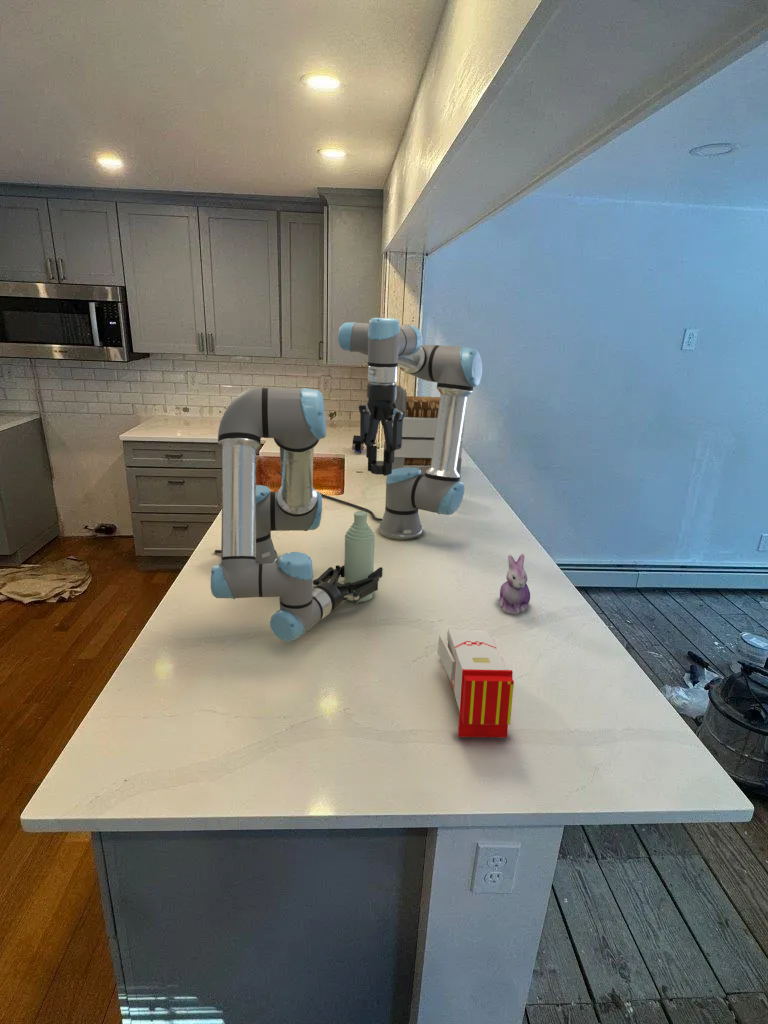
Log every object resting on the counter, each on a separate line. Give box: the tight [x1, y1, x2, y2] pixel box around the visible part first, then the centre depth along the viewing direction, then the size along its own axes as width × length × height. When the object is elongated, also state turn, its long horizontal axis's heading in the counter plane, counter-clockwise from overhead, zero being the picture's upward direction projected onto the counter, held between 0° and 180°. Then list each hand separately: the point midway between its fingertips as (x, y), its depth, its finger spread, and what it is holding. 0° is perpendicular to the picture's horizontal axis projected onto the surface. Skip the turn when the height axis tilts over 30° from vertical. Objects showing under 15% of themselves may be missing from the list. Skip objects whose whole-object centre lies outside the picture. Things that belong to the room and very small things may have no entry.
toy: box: [437, 628, 515, 738], centre depth 117 cm, size 12×13×30 cm
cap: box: [370, 460, 384, 476], centre depth 150 cm, size 5×5×2 cm
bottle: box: [343, 510, 376, 603], centre depth 152 cm, size 8×8×24 cm
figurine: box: [498, 553, 531, 615], centre depth 151 cm, size 9×10×15 cm
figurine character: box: [351, 435, 365, 454], centre depth 310 cm, size 7×8×15 cm
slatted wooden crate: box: [383, 384, 465, 482], centre depth 268 cm, size 34×33×41 cm
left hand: (367, 568), depth 158 cm, fingers closed on bottle, 8 cm apart
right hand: (379, 472), depth 150 cm, fingers closed on cap, 4 cm apart
